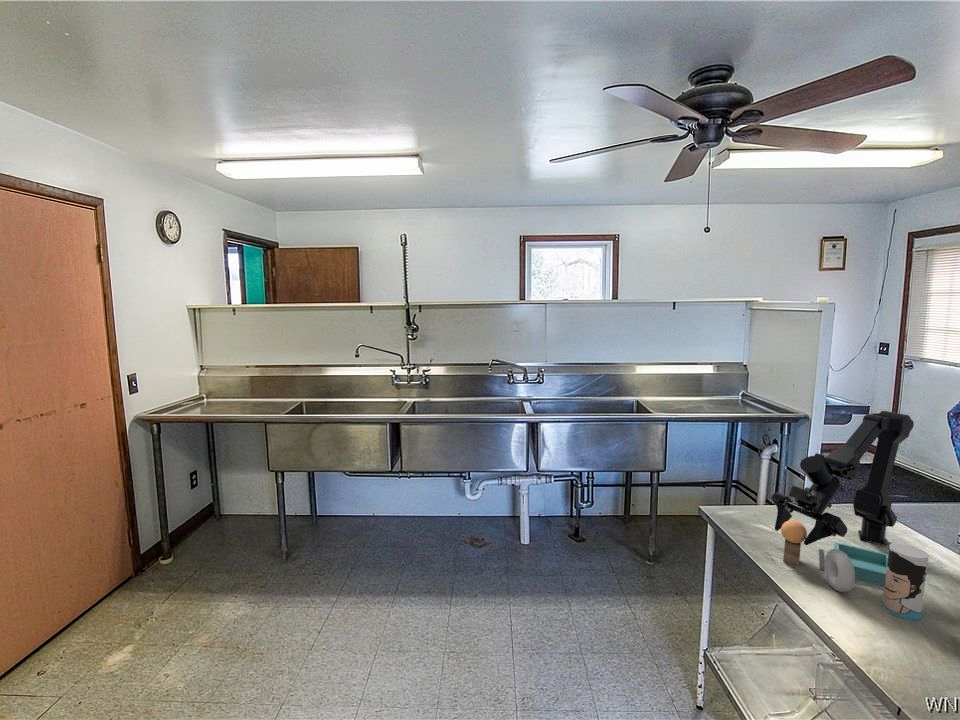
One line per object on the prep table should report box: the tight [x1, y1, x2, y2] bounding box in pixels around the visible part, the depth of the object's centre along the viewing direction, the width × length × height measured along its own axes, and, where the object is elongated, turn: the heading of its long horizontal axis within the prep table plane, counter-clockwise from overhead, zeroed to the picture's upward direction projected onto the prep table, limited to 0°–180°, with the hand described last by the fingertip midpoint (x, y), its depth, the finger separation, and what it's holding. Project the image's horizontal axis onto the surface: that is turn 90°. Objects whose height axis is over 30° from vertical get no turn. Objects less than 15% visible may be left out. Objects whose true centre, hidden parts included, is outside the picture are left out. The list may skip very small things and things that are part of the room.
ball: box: [780, 519, 808, 544], centre depth 132 cm, size 6×6×6 cm
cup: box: [882, 542, 930, 621], centre depth 111 cm, size 7×7×15 cm
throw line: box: [818, 548, 825, 572], centre depth 134 cm, size 13×1×1 cm, turn 145°
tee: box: [782, 538, 802, 567], centre depth 133 cm, size 4×4×6 cm
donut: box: [824, 548, 856, 593], centre depth 119 cm, size 10×4×10 cm, turn 168°
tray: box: [833, 541, 889, 587], centre depth 129 cm, size 13×12×3 cm
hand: (789, 536), depth 132 cm, fingers open, 8 cm apart
